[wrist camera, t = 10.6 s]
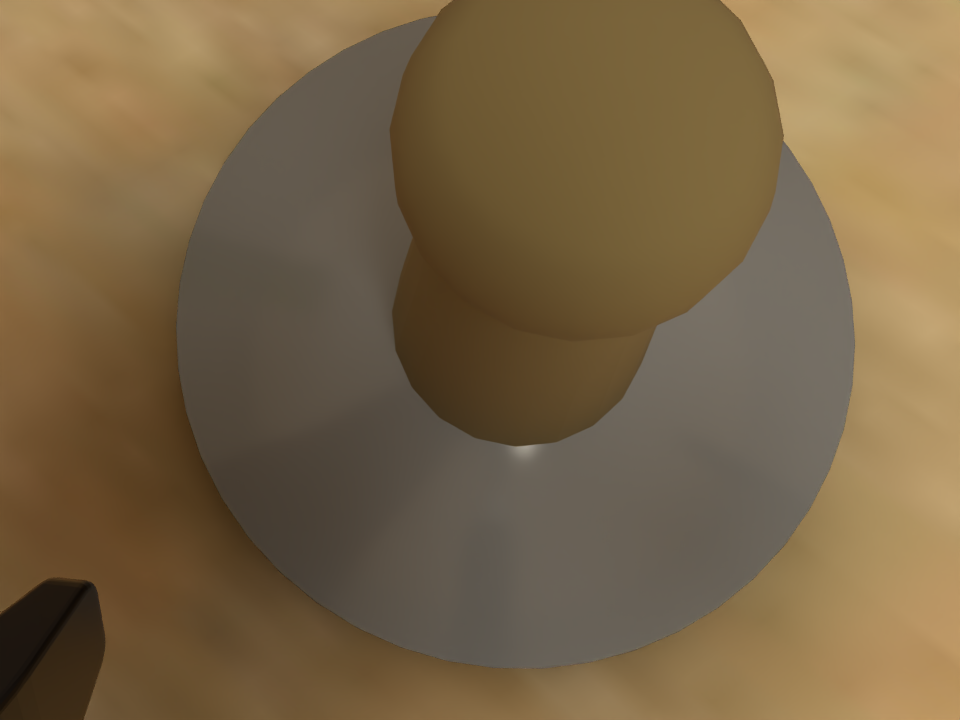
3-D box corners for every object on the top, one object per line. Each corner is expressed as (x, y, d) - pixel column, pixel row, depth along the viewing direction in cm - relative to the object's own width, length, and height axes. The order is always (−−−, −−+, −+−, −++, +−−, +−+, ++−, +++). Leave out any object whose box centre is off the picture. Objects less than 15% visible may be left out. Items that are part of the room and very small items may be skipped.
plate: (288, 762, 20) (281, 773, 19) (119, 121, 23) (104, 101, 22) (937, 536, 22) (960, 536, 21) (703, -35, 25) (714, -59, 24)
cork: (338, 336, 21) (236, 115, 10) (500, 150, 22) (559, -225, 11) (542, 501, 21) (659, 449, 10) (698, 301, 22) (955, 58, 11)
